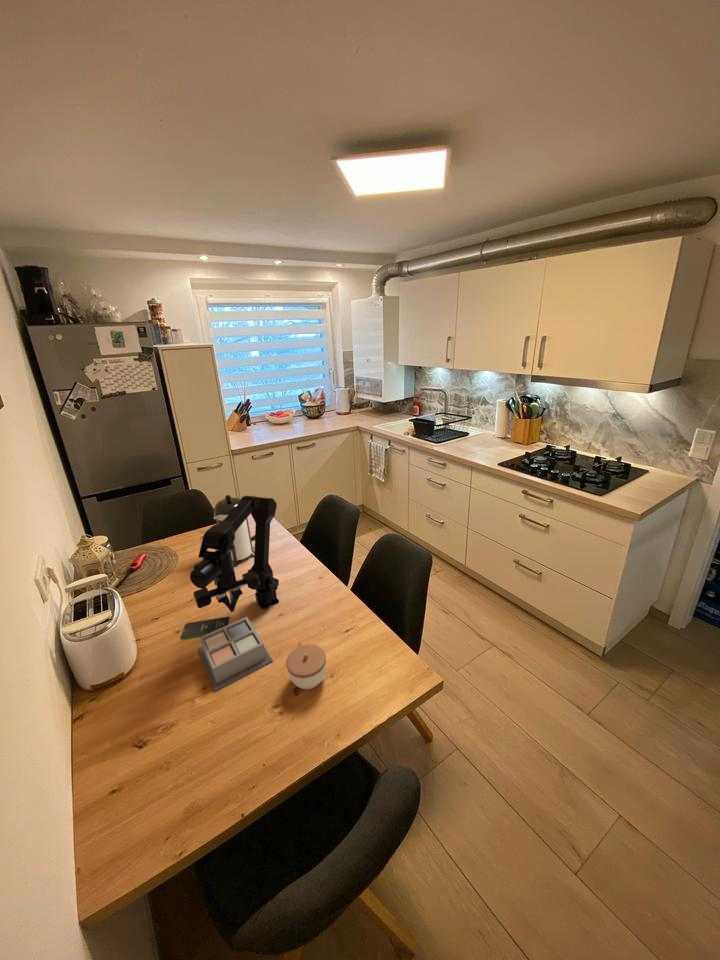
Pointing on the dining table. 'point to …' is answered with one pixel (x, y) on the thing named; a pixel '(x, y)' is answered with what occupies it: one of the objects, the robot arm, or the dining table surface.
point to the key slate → (238, 630)
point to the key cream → (215, 640)
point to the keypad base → (237, 664)
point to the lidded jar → (306, 666)
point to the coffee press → (242, 534)
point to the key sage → (246, 643)
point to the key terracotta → (222, 655)
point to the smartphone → (203, 627)
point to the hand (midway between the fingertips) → (232, 611)
